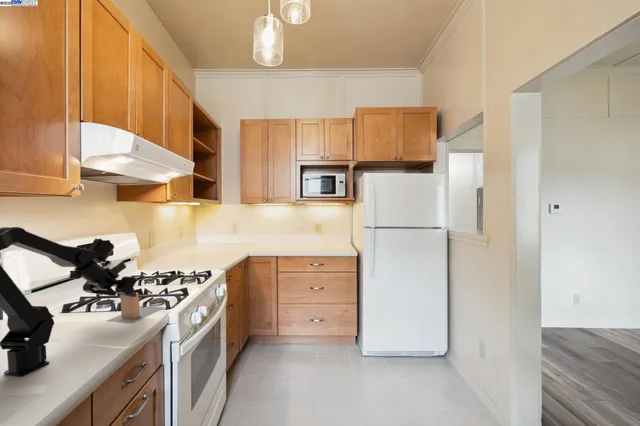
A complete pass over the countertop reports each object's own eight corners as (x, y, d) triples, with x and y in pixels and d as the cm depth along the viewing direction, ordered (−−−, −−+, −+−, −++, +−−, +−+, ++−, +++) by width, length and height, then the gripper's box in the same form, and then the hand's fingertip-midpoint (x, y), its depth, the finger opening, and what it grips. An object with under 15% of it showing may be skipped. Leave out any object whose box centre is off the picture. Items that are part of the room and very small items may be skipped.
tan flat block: (134, 318, 109) (133, 294, 109) (121, 317, 111) (120, 294, 111) (139, 315, 112) (138, 292, 111) (127, 315, 113) (125, 292, 113)
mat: (132, 324, 105) (132, 323, 105) (105, 322, 108) (105, 320, 108) (165, 308, 121) (165, 307, 121) (141, 306, 123) (141, 305, 123)
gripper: (130, 254, 101) (157, 277, 112) (88, 253, 106) (118, 275, 117) (111, 282, 94) (141, 304, 105) (67, 280, 98) (100, 301, 109)
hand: (125, 295), depth 109 cm, fingers open, 9 cm apart
